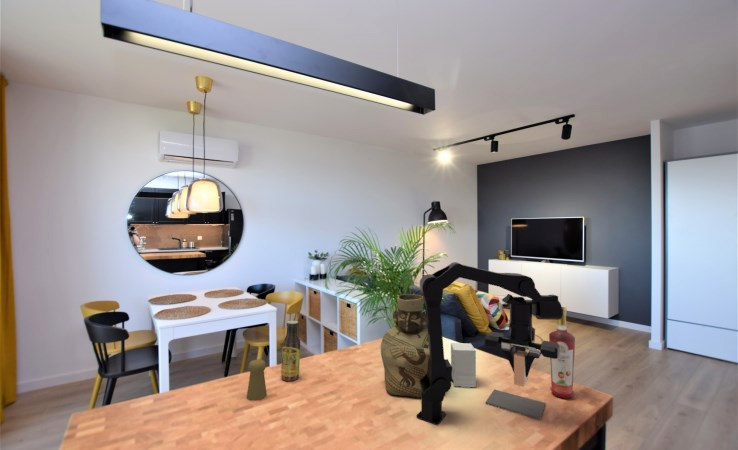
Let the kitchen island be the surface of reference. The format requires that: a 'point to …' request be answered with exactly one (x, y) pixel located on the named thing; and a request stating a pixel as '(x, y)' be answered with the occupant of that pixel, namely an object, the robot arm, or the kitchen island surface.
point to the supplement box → (463, 364)
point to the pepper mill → (256, 380)
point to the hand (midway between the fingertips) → (521, 374)
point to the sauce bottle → (291, 353)
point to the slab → (520, 368)
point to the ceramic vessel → (406, 348)
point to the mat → (516, 404)
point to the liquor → (562, 360)
